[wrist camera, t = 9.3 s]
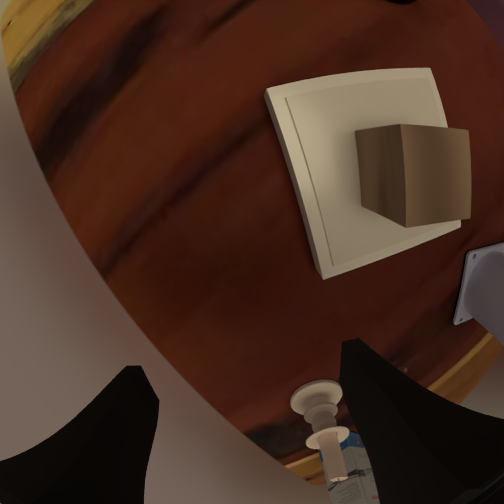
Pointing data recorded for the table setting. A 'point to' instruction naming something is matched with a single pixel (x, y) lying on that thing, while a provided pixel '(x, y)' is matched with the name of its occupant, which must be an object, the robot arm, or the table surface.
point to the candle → (323, 423)
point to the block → (415, 173)
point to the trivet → (349, 158)
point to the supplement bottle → (404, 1)
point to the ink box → (353, 475)
